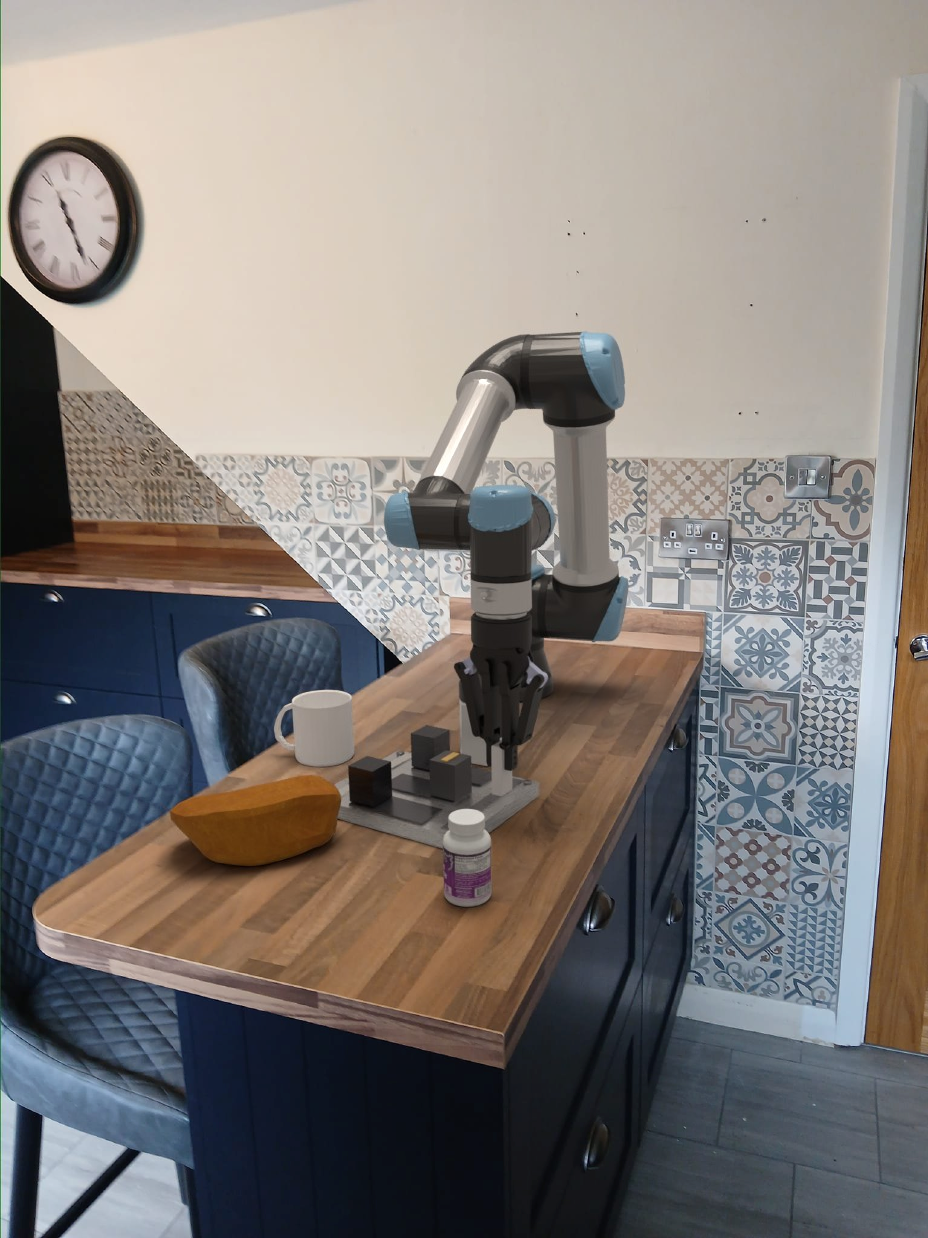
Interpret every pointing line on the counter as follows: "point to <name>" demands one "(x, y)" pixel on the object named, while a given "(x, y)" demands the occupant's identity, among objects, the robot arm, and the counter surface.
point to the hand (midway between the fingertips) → (502, 791)
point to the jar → (470, 733)
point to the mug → (320, 728)
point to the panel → (421, 792)
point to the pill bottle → (467, 859)
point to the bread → (261, 820)
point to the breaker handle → (450, 775)
